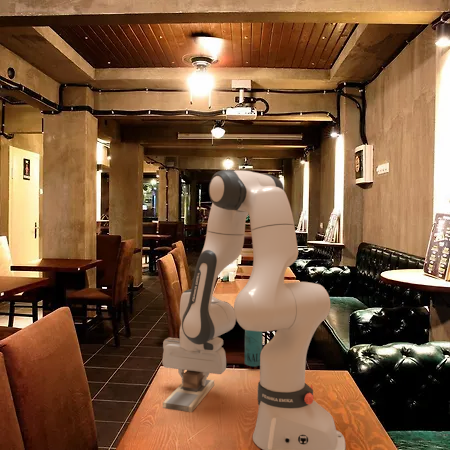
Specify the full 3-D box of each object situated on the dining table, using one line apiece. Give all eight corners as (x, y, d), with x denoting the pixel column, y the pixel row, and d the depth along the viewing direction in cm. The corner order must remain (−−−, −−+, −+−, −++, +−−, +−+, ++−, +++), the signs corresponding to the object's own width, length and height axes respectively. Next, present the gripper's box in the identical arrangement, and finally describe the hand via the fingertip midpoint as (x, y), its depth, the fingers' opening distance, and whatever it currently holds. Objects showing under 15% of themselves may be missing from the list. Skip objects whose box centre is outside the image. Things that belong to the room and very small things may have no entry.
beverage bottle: (251, 362, 165) (251, 309, 164) (266, 367, 161) (266, 312, 160) (240, 367, 160) (240, 312, 159) (255, 372, 156) (256, 315, 155)
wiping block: (205, 383, 142) (205, 367, 142) (196, 392, 136) (197, 375, 135) (191, 381, 144) (191, 366, 143) (183, 390, 137) (183, 374, 137)
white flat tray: (214, 384, 145) (214, 380, 145) (191, 412, 126) (192, 406, 126) (188, 381, 147) (188, 376, 147) (162, 407, 128) (162, 402, 128)
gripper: (158, 339, 139) (158, 383, 139) (221, 346, 132) (221, 392, 133) (167, 334, 145) (167, 376, 145) (228, 340, 138) (227, 384, 139)
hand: (193, 383), depth 139 cm, fingers closed on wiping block, 4 cm apart
